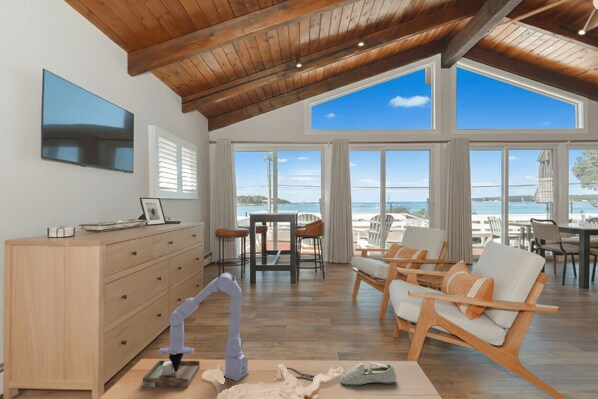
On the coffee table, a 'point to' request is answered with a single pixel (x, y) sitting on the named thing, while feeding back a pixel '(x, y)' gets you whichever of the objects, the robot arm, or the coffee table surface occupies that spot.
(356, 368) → the ballet flat
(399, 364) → the coffee table surface
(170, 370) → the cream block
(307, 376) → the pliers
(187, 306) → the robot arm
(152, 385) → the wooden tray
